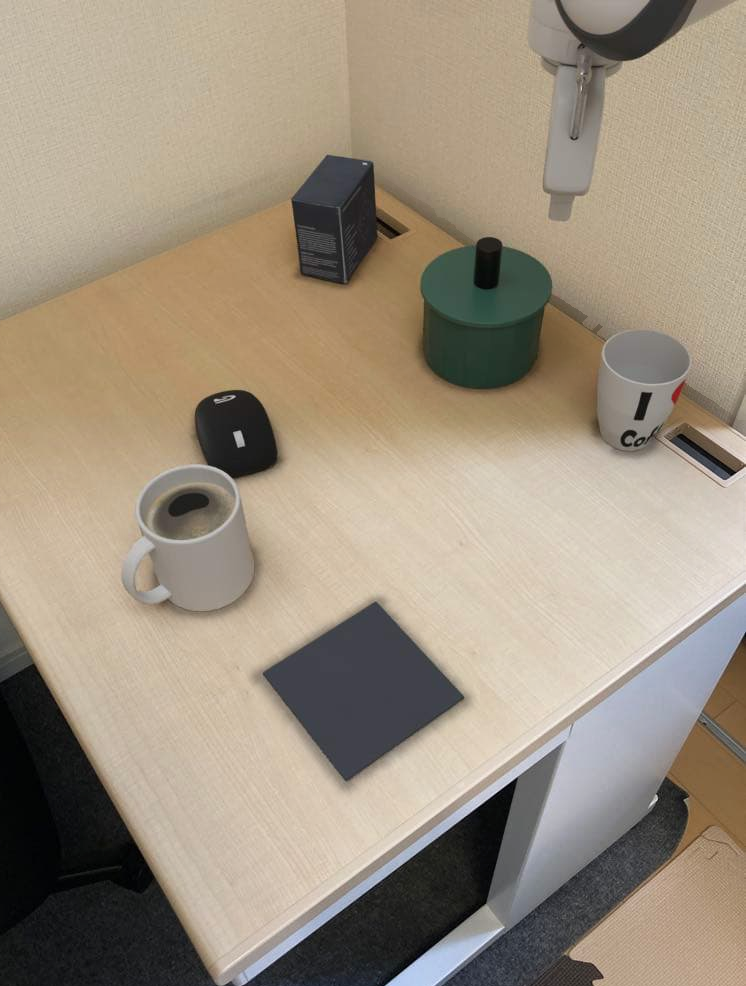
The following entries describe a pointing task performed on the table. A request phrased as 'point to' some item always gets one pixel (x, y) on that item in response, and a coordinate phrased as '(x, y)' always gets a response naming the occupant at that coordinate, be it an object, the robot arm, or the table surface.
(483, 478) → the table surface
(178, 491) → the mug
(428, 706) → the mat
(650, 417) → the cup
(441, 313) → the tin lid
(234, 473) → the computer mouse
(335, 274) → the box
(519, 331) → the tin
